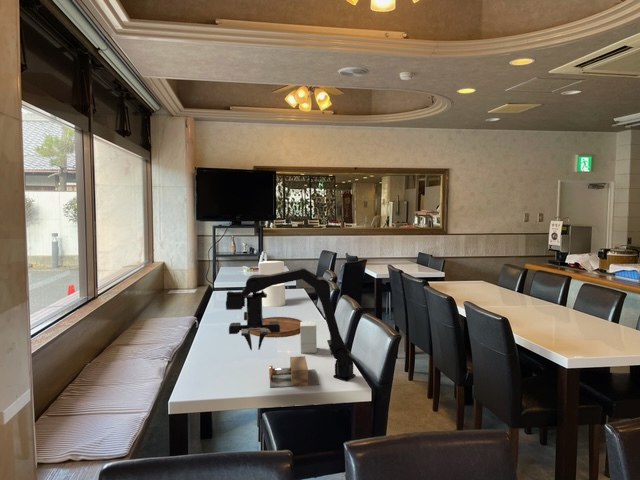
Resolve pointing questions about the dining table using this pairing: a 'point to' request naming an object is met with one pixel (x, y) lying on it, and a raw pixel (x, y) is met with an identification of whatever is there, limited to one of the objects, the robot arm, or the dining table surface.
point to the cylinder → (275, 291)
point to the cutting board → (281, 327)
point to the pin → (278, 371)
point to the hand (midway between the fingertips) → (255, 349)
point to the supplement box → (308, 337)
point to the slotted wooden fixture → (296, 375)
